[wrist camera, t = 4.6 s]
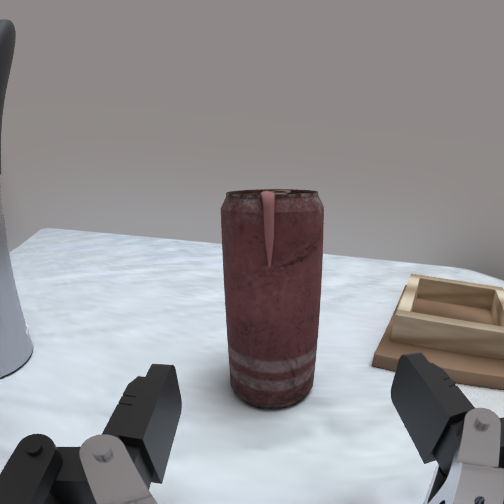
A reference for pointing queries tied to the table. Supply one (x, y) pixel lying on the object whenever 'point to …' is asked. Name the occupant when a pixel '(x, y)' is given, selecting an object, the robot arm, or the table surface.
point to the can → (272, 292)
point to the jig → (449, 330)
